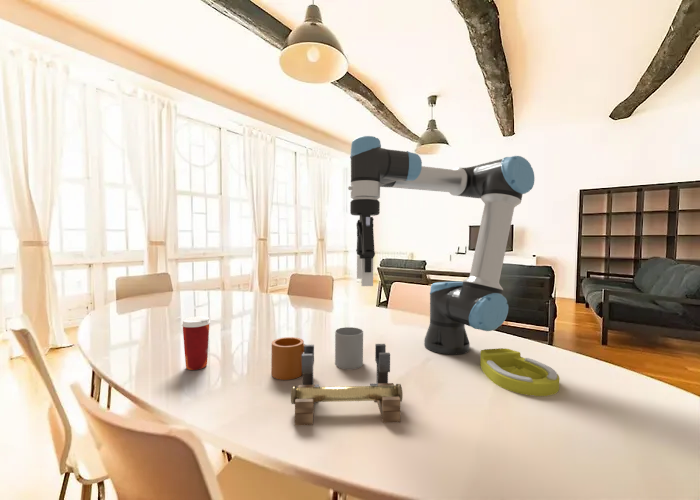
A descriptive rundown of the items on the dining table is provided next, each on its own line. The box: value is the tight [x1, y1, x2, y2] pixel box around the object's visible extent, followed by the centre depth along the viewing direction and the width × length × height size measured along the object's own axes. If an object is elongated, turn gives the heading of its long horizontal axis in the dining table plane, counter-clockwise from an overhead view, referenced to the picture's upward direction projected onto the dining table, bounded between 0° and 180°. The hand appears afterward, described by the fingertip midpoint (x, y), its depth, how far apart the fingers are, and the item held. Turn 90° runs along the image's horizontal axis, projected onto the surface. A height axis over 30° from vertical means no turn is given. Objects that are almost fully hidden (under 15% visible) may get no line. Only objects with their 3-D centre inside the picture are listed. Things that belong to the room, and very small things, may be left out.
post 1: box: [302, 344, 320, 387], centre depth 77 cm, size 5×7×11 cm
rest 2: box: [376, 382, 401, 424], centre depth 69 cm, size 4×8×5 cm, turn 3°
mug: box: [270, 336, 315, 381], centre depth 89 cm, size 9×12×9 cm
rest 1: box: [294, 384, 316, 427], centre depth 68 cm, size 4×8×5 cm, turn 3°
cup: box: [334, 326, 364, 370], centre depth 96 cm, size 8×8×10 cm
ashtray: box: [479, 347, 560, 397], centre depth 87 cm, size 16×21×5 cm
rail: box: [290, 383, 404, 405], centre depth 70 cm, size 24×4×4 cm
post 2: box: [369, 343, 391, 386], centre depth 78 cm, size 5×7×11 cm
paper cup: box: [181, 315, 211, 371], centre depth 94 cm, size 8×8×14 cm
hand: (364, 282), depth 83 cm, fingers open, 13 cm apart
